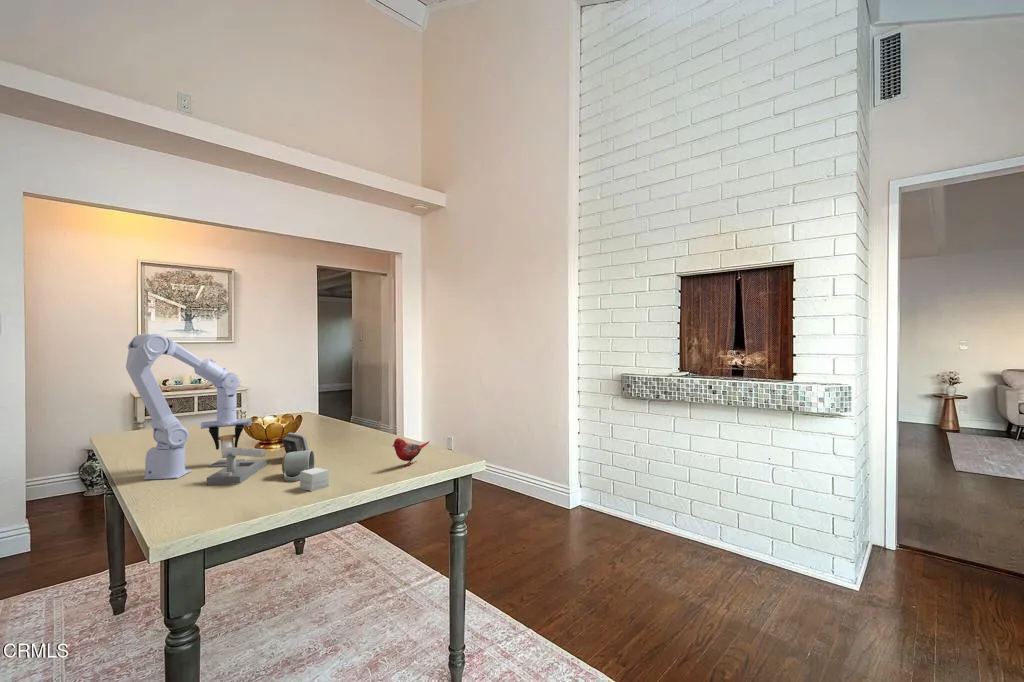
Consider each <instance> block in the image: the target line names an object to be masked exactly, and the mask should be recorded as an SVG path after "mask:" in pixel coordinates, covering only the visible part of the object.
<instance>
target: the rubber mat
mask: <svg viewBox="0 0 1024 682" xmlns="http://www.w3.org/2000/svg"><path fill="white" fill-rule="evenodd" d="M237 460H246V459H241V458H240V459H236V461H237ZM225 467H227V459H218V460H217V461H214V462H213V463H212V464H210V465H207V468H225Z"/></svg>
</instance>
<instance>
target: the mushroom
mask: <svg viewBox="0 0 1024 682" xmlns="http://www.w3.org/2000/svg"><path fill="white" fill-rule="evenodd" d="M234 439H235V434H226V435H225V434H224V435H221V436H219V437H218V440H219V441H220V448H221V456H222V457H221V458H222V459H227V455H226V448H228V447H235V441H234Z"/></svg>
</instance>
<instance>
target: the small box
mask: <svg viewBox="0 0 1024 682" xmlns="http://www.w3.org/2000/svg"><path fill="white" fill-rule="evenodd" d="M329 478H330V469H329V470H328V469H325V468H320V467H314V468H312V469H309V470H304V471H301V472H300V480H299V484H300V485H299V489H302V490H305V489H306V491H308V490H309V492H311V491H312V492H315V490H316V491H319V490H322V489H325V487H326V488H328V487H330V484H329V483H330V479H329ZM321 488H322V489H321ZM318 489H319V490H318Z"/></svg>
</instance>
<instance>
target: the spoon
mask: <svg viewBox="0 0 1024 682" xmlns="http://www.w3.org/2000/svg"><path fill="white" fill-rule="evenodd" d="M226 455H227V456H231V455H235V456H236V457H252V458H262V457H265V456H266V449H265V448H254V447H253V448H251V447H238V446H237V447H235V446H234V447H228V448H226Z"/></svg>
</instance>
